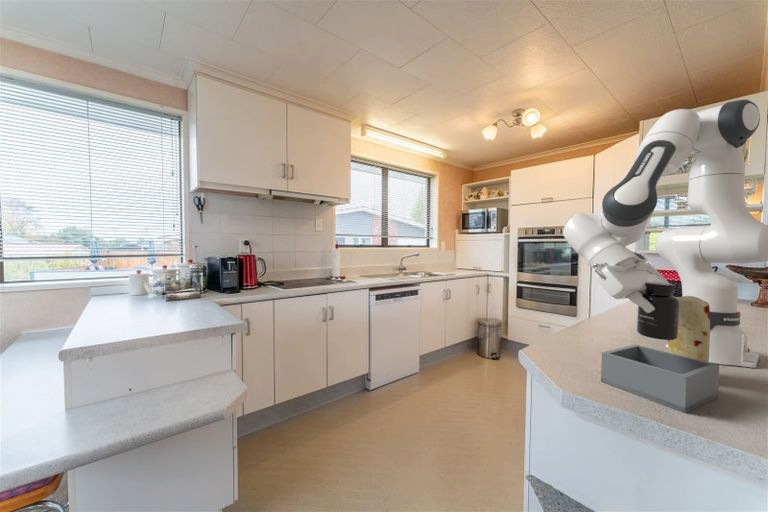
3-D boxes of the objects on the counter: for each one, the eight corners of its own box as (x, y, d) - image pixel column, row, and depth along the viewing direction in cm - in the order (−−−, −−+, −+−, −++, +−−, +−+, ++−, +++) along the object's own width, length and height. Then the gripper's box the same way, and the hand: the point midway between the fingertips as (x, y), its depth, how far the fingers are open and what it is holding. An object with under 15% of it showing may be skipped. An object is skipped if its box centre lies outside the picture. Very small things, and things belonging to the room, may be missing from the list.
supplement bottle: (636, 336, 67) (637, 283, 67) (637, 330, 72) (639, 280, 72) (678, 342, 63) (680, 286, 62) (677, 336, 68) (679, 283, 67)
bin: (635, 371, 78) (635, 344, 78) (718, 397, 64) (719, 365, 64) (601, 381, 71) (601, 352, 71) (685, 413, 58) (686, 377, 58)
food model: (718, 386, 69) (722, 300, 69) (682, 382, 71) (685, 299, 71) (690, 370, 79) (692, 294, 78) (658, 367, 81) (661, 293, 80)
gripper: (599, 255, 69) (650, 304, 60) (646, 255, 78) (696, 298, 69) (579, 273, 73) (624, 321, 64) (626, 271, 82) (671, 313, 73)
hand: (662, 309), depth 67 cm, fingers closed on supplement bottle, 7 cm apart
